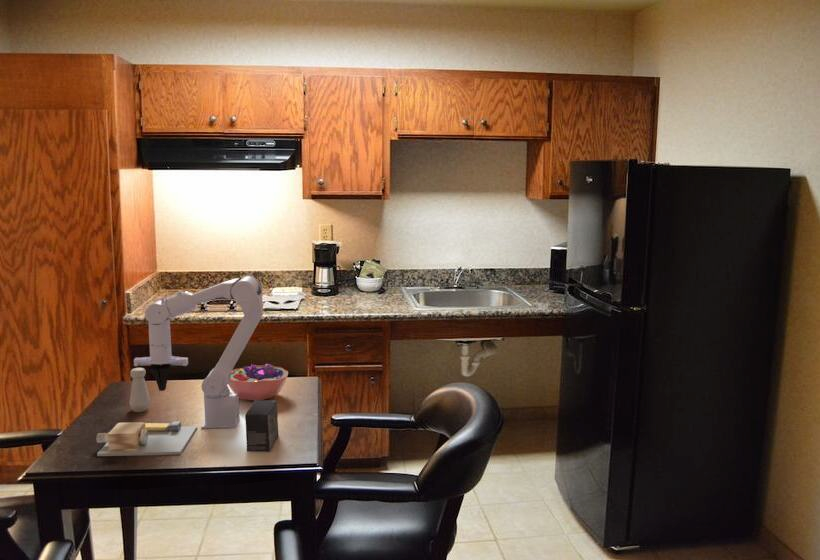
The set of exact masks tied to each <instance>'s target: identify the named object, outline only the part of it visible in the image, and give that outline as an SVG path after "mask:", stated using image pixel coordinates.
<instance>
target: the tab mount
mask: <svg viewBox="0 0 820 560" xmlns="http://www.w3.org/2000/svg"><path fill="white" fill-rule="evenodd" d="M171 423H172V424H171V425H170V429H171V432H178V431H179V430H180V429H181V427H182V424H181V423H182V421H181V420H179V421H178V420H174V421H172V422H171Z"/></svg>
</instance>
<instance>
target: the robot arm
mask: <svg viewBox="0 0 820 560" xmlns="http://www.w3.org/2000/svg"><path fill="white" fill-rule="evenodd" d="M221 297H222V298H223V297H224V298H226V299H228V300H232V298H233V299H234V301H235V302H236V303H237V304H238V305H239V306H240V308H241V311H242V312H243V317H242V319H241V320H240V322H239V324H238V325H237V327H236V329H235V331H234V333H233V335H232V337H231V338H230V340H229V342H228V343H227V345H226V347H225V349H224V350H223V353H222V355H221V356H220V358H219V360H218V362H217V363H216V364H215V367H213V368H211V370H210V371H209V373H208V375H207V376H206V377H205V378H204V379H203V380H202V383H201V390H202V392H203V403H204V404H203V405H204V408H203V409H204V421H203V423H202V424H201V426H200V427H201V429H217V428H218V429H220V428H221V429H222V428H223V429H225V428H226V429H228V428H231V429H232V428H235V427H236V426H237V424H238V422H239V419H240V417H241V416H240V403H239V402H240V401H239V399H240V398H238V394H237V393H234V392H231V389H230V387H229V386H228V383H229V382H230V375H231V371H232V370H234V367H235V366H236V364H237V362H238V360H239V359H240V356H241V355H242V354H243V351H244V350H245V348H246V346H247V344H248V342H249V340H250V339H251V337H252V335H253V334H254V331H255V330H256V328H257V326H258V325H259V322H260V321H261V319H262V317H263V315H264V304H263V303H264V301H263V288H262V286H261V284H260V282H259V281H258V279H257V278H256V277H254V276H252V275H244V276H242V277H241V278H240V277H236V278H233V279H230V280H226V281H222V282H220V283H218V284H215V285H212V286H210V287H207V288H205V289H202V290H200V291H197V292H195V293H193V292H189V291H188V290H187V291H183V290H179V291H177V293H176V294H175V295H173V296H169V297H167V298H166V297H162V298H161V299H160V300H156V301H155V302H153V303H151V304H150V305H148V306H147V308H146V309H145V311H144V316H145V319H146V320H147V322H148V339H149V340H148V341H149V343H148V344H149V356H143V357H135V358H134V359H133V366H134V367H138V366H150V367H149V372H150V373H151V374H152V376H153V378H154V379H155V382H156V383H157V384H156V385H157V387H158V391H159V392H164V391H166V389H167V383H168V379H169V376H170V373H171V370H172V368H173V366H182V367H187V366H188V364H189V357H183V356H175V355H173V354H172V353H173V352H172V338H171V337H172V334H171V323H170V322H171V320H170V319H174V318H176V317H179V316H181V315H184V314H187V313H190V312H193V311H194V310H195V309H196V307H197V305H199V304H203V303H206V302H208V301H212V300H215V299H219V298H221Z"/></svg>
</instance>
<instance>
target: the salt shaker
mask: <svg viewBox="0 0 820 560" xmlns="http://www.w3.org/2000/svg"><path fill="white" fill-rule="evenodd" d="M129 373H130V375H129V376H130V377H131V378H132V381H131V389H130V397H129V406H130V409H132V411H133V413H144V412H146V411H147V410H148V409H149V407H150V403H151V399H150V396H149V392H148V388H147V383H146V380H145V376H146V373H147V372H146V369H145V368H144V367H135V368H134V367H133V368H131V370H130V372H129Z"/></svg>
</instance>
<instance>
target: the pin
mask: <svg viewBox="0 0 820 560" xmlns="http://www.w3.org/2000/svg"><path fill="white" fill-rule="evenodd" d="M108 433H109V432H97V434H96V437H95V438H96V443H97V444H98V443H107V442H108ZM138 436H139V437H138V440H139V444H140V445H146V443H147V441H148V431H147V429H141V430H140V432H139V434H138Z"/></svg>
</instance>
